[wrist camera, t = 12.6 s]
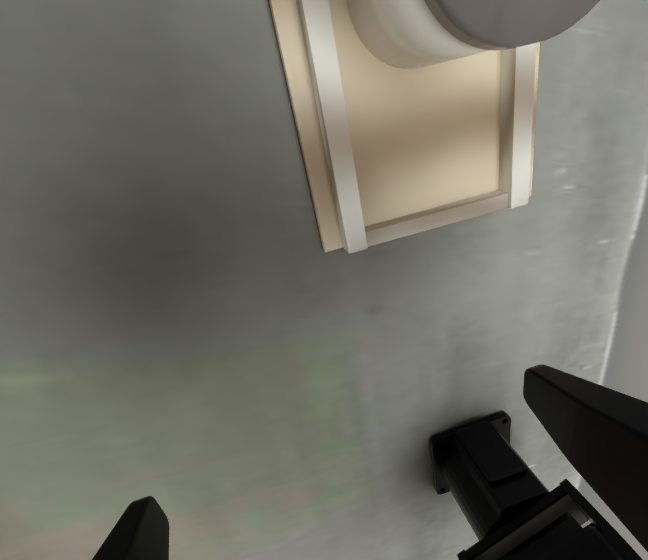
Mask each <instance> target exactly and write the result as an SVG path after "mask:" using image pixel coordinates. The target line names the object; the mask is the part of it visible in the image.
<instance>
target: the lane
mask: <svg viewBox="0 0 648 560" xmlns="http://www.w3.org/2000/svg"><path fill="white" fill-rule="evenodd" d="M269 3H270V8H271V12H272V17H273V22H274V26H275V31H276V35H277V40H278V45H279V49H280V54H281V58H282V63H283V67H284V72H285V77H286V81H287V86H288V90H289V95H290V99H291V104H292V109H293V113H294V118H295V122H296V127H297V132H298V136H299V141H300V145H301V150H302V154H303V159H304V164H305V168H306V173H307V177H308V182H309V187H310V191H311V196H312V200H313V205H314V209H315V214H316V219H317V223H318V228H319V232H320V237H321V241H322V246H323V250H324V251H325V252H329V251H332V250H336V249H340V248H343V247H344V249H345V250H346V251H347V252H348V253H349V254H350V253H354V252H357V251H361V250H365V249H368V247H369V246H373V245H377V244H380V243H384V242H387V241H391V240H395V239H398V238H402V237H405V236H409V235H412V234H416V233H420V232H423V231H427V230H430V229H434V228H438V227H441V226H445V225H448V224H452V223H455V222H459V221H463V220H466V219H470V218H473V217H477V216H481V215H484V214H488V213H491V212H495V211H498V210H502V209H506V208H515V207H518V206H522V205H526V204H528V196H531V190H532V172H533V154H534V137H535V119H536V101H537V84H538V66H539V48H540V42H537V43H533V44H529V45H525V46H521V47H517V48H513V49H506V50H490V51H486V52H482V53H478V54H474V55H471V56H467V57H463V58H459V59H455V60H451V61H447V62H443V63H439V64H436V65H432V66H428V67H424V68H419V69H400V68H395V67H393V66H390V65H388V64H386V63H384V62H382V61H380V60H379V59H378V58H376V57H375V56H374V55H373V54H372V53H371V52H370V51H369V50H368V49H367V48H366V47H365V45H364V44H363V43H362V41H361V40H360V38H359V36H358V35H357V33H356V31H355V29H354V26H353V24H352V22H351V19H350V15H349V12H348V7H347V2H346V0H269Z"/></svg>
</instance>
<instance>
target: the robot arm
mask: <svg viewBox="0 0 648 560" xmlns="http://www.w3.org/2000/svg"><path fill="white" fill-rule="evenodd" d="M523 395H524V399H525V401H526V403H527V404H528V406H529V407H530V408H531V410H532V411H533V413H534V414H535V415H536V417H537V418H538V420H539V421H540V422H541V424H542V425H543V426H544V428H545V429H546V431H547V432H548V433H549V435H550V436H551V438H552V439H553V440H554V442H555V443H556V444H557V446H558V447H559V449H560V450H561V451H562V453H563V454H564V455H565V457H566V458H567V459H568V461H569V462H570V463H571V464H572V465H573V467H574V468H575V469H576V470H577V471H578V472H579V474H580V475H581V476H582V477H583V478H584V479H585V480H586V482H587V483H588V484H589V485H590V486H591V487H592V488H593V490H594V491H595V492H596V493H597V494H598V495H599V497H600V498H601V499H602V500H603V501H604V502H605V503H606V505H607V506H608V507H609V508H610V509H611V510H612V512H613V513H614V514H615V515H616V516H617V517H618V518H619V519H620V521H621V522H622V523H623V524H624V525H625V526H626V528H627V529H628V530H629V531H630V532H631V533H632V535H633V536H634V537H635V538H636V539H637V540H638V541H639V542H640V544H641V545H642V546H643V547H644V548H645V550H646V551H647V552H648V403H647V402H644V401H642V400H639V399H636V398H634V397H631V396H628V395H625V394H622V393H620V392H617V391H614V390H612V389H609V388H606V387H604V386H601V385H598V384H595V383H593V382H590V381H587V380H584V379H582V378H579V377H576V376H574V375H571V374H568V373H565V372H563V371H560V370H557V369H554V368H552V367H549V366H546V365H537V366H534V367H531V368H528V369H526V371H525V373H524V388H523ZM510 426H511V418H510V416H509V415H508V414H507V413H505V412H503V413H499V414H496V415H494V416H491V417H488V418H485V419H482V420H479V421H476V422H473V423H471V424H468V425H465V426H462V427H459V428H456V429H453V430H450V431H448V432H445V433H442V434H439V435H436V436H434V437H432V438H431V440H430V450H431V460H432V470H433V480H434V488H435V490H436V492H437V494H444V493H446V492H449V491H451V492H452V494H453V496H454V498H455V499H456V501H457V503H458V505H459V506H460V508H461V510H462V512H463V513H464V515H465V517H466V518H467V520H468V522H469V524H470V525H471V527H472V529H473V531H474V532H475V534H476V536H477V538H478V539H479V542H477V543H476V544H475V545H473V546H472V547H470V548H469V549H467V550H466V551H465V550H463V551H461V552H460V553H459V554H457V556H458V558H459V560H642V559H641V558H640V556H639V555H638V554H637V553H636V552H635V551H634V550H633V549H632V547H631V546H630V545H629V544H628V543H627V542H626V541H625V540H624V539H623V538H622V537H621V536H620V535H619V533H618V532H617V531H616V530H615V529H614V528H613V527H612V526H611V525H610V524H609V523H608V522H607V521H606V520H605V519H604V518H603V517H602V516H601V515H600V514H599V512H598V511H597V510H596V509H595V508H594V507H593V506H592V505H591V504H590V503H589V502H588V501H587V500H586V499H585V498H584V497H583V496H582V495H581V493H580V492H579V491H578V490H577V489H576V488H575V487H574V486H573V485H572V484H571V483H570V482H569V481H568V480H567V479H565V480H563V481H562V482H560V485H559V486H558V487H556V488H555V489H554V490H552V491H551V492H549V491H548V490H547V488H546V487H545V486H544V485H543V484H542V482H541V481H540V480H539V479H538V478H537V476H536V475H535V474H534V473H533V472H532V470H531V469H530V468H529V467H528V466H527V464H526V463H525V462H524V461H523V460H522V459H521V457H520V456H519V455H518V454H517V453H516V451H515V450H514V449H513V448H512V447H511V445H510ZM588 520H589V521H590V522H591V524H590V525H587V526H586V527H584V528H582V527H581V525H582V524H584V523H585V522H587V521H588ZM92 560H169V523H168V519H167V516H166V515H165V513H164V512H163V510H162V509H161V507H160V506H159V504H158V503H157V501H156V500H155V499H154V497H152V496H148V497H145V498H142V499H139V500H136V501H133V502H132V503H131V504H130V505H129V506H128V507H127V509H126V510H125V512H124V513H123V515H122V516H121V518H120V519H119V521H118V522H117V524H116V525H115V526H114V528H113V529H112V531H111V532H110V534H109V535H108V537H107V538H106V540H105V541H104V543H103V544H102V546H101V547H100V549H99V550H98V551H97V553H96V554H95V556H94V557H93V559H92Z"/></svg>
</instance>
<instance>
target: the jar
mask: <svg viewBox="0 0 648 560" xmlns="http://www.w3.org/2000/svg"><path fill="white" fill-rule="evenodd" d="M346 2H347V7H348V12H349V15H350V19H351V22H352V24H353V26H354V29H355V31H356V33H357V35H358V36H359V38H360V40H361V41H362V43H363V44H364V45H365V47H366V48H367V49H368V50H369V51H370V52H371V53H372V54H373V55H374V56H375V57H376V58H378V59H379V60H380V61H382V62H384V63H386V64H388V65H390V66H393V67H395V68H400V69H419V68H424V67H428V66H432V65H436V64H439V63H443V62H447V61H451V60H455V59H459V58H463V57H467V56H471V55H474V54H478V53H482V52H486V51H490V50H506V49H513V48H517V47H521V46H525V45H529V44H533V43H537V42H540V41H543V40H547V39H549V38H552V37H554V36H556V35H558V34H560V33H562V32H563V31H565V30H567V29H568V28H570V27H571V26H573V25H574V24H575V23H577V22H578V21H579V20H580V19H581V18H583V17H584V16H585V15H586V14H587V13H588V12H589V11H590V10H591V9H592V8H593V7H594V6H595V5H596V4H597V3H598V2H599V0H346Z"/></svg>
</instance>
